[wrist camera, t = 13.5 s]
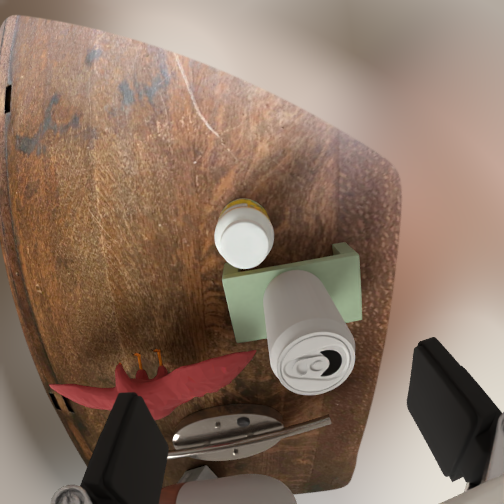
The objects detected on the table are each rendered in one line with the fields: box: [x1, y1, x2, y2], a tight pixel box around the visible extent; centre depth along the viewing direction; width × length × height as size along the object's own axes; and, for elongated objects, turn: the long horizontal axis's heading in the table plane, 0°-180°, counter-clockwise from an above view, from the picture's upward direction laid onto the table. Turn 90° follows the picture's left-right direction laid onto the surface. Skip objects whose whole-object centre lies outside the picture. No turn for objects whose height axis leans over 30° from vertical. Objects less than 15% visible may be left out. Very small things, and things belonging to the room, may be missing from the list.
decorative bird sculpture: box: [49, 348, 256, 420], centre depth 36 cm, size 28×9×15 cm
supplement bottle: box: [215, 198, 274, 269], centre depth 31 cm, size 5×5×10 cm
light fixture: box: [159, 404, 331, 504], centre depth 34 cm, size 11×22×34 cm
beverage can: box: [263, 270, 355, 395], centre depth 27 cm, size 6×6×12 cm
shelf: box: [222, 242, 362, 343], centre depth 35 cm, size 14×8×5 cm, turn 100°
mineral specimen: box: [177, 465, 217, 484], centre depth 44 cm, size 7×9×8 cm
